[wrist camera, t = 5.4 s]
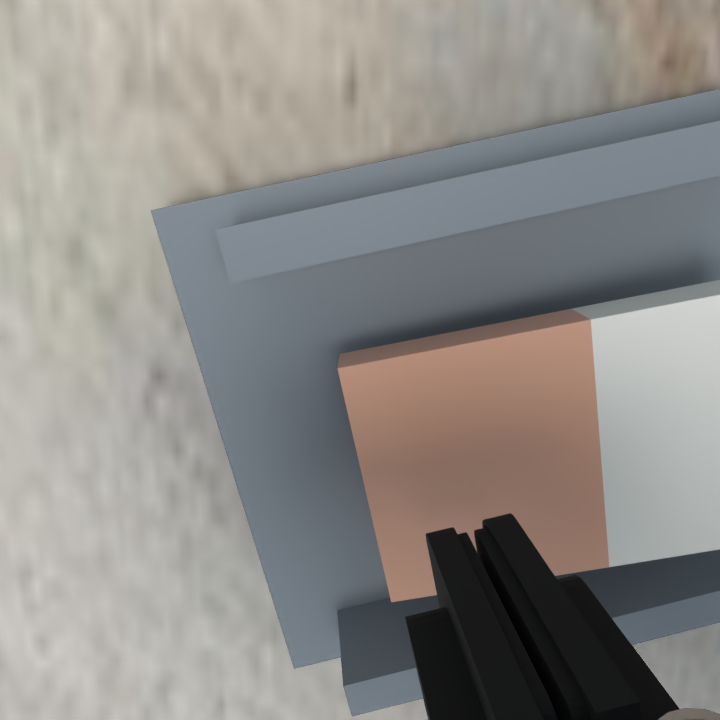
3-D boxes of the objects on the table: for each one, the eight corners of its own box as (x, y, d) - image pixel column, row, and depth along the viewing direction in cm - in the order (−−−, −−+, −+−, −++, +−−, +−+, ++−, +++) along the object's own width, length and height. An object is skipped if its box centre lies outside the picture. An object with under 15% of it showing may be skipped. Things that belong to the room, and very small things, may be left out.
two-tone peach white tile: (817, 260, 13) (861, 266, 12) (803, 504, 15) (840, 530, 14) (339, 354, 14) (337, 368, 13) (389, 572, 16) (391, 602, 15)
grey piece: (791, 77, 17) (988, 24, 12) (776, 506, 21) (911, 592, 17) (169, 210, 16) (111, 211, 11) (294, 625, 21) (292, 752, 16)
